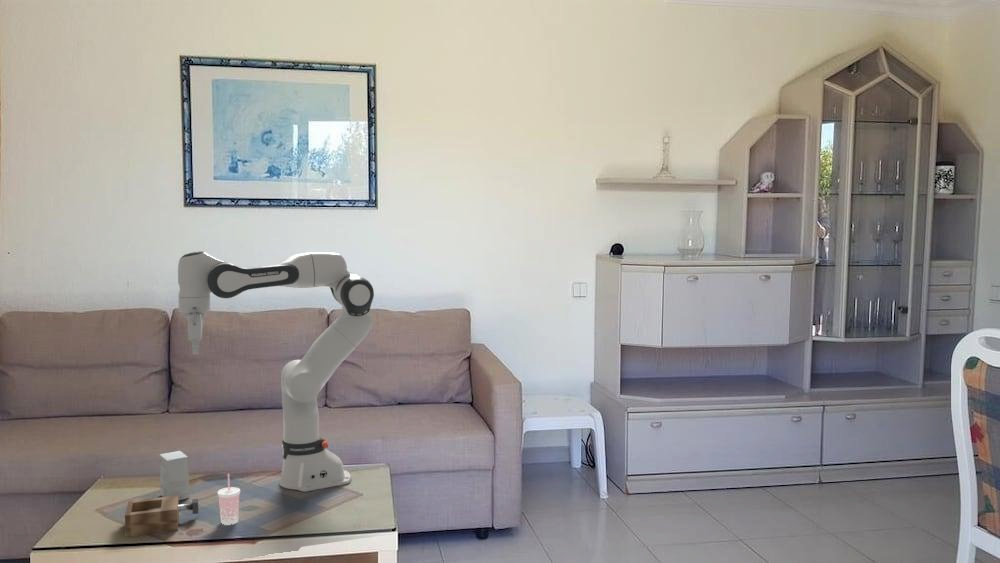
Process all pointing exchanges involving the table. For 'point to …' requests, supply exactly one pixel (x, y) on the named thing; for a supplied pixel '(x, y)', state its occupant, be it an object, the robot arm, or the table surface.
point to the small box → (174, 475)
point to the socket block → (151, 516)
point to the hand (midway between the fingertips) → (196, 351)
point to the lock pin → (185, 507)
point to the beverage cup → (229, 504)
